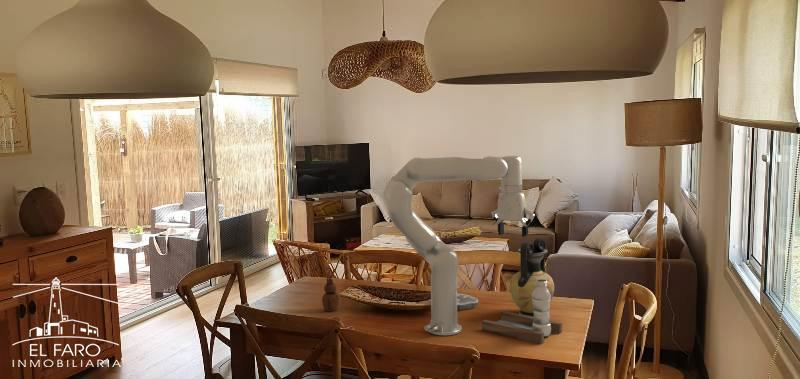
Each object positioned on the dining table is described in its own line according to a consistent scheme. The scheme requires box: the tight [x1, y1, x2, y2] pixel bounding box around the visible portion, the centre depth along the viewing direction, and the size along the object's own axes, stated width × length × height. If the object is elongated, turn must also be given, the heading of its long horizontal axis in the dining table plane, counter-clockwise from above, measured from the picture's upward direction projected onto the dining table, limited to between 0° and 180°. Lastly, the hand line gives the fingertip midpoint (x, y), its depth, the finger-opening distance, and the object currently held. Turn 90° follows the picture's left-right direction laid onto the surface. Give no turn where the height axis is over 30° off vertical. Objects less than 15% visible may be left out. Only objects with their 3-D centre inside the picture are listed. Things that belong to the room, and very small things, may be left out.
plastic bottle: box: [532, 279, 552, 338], centre depth 228 cm, size 6×7×20 cm
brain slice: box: [457, 292, 480, 311], centre depth 269 cm, size 20×17×3 cm
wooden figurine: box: [321, 275, 340, 313], centre depth 264 cm, size 7×6×15 cm
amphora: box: [509, 237, 555, 317], centre depth 253 cm, size 18×17×30 cm
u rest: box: [481, 310, 563, 345], centre depth 234 cm, size 16×24×4 cm, turn 49°
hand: (512, 235), depth 239 cm, fingers open, 9 cm apart
